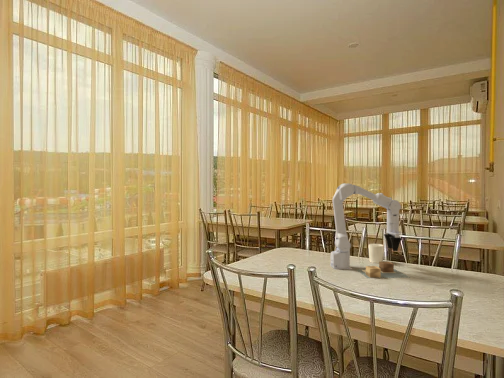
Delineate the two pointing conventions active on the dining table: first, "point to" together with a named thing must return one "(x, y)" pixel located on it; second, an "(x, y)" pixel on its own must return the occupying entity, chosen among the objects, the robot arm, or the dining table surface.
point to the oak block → (373, 271)
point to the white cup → (376, 253)
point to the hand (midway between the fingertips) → (392, 249)
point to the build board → (387, 274)
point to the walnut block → (386, 266)
